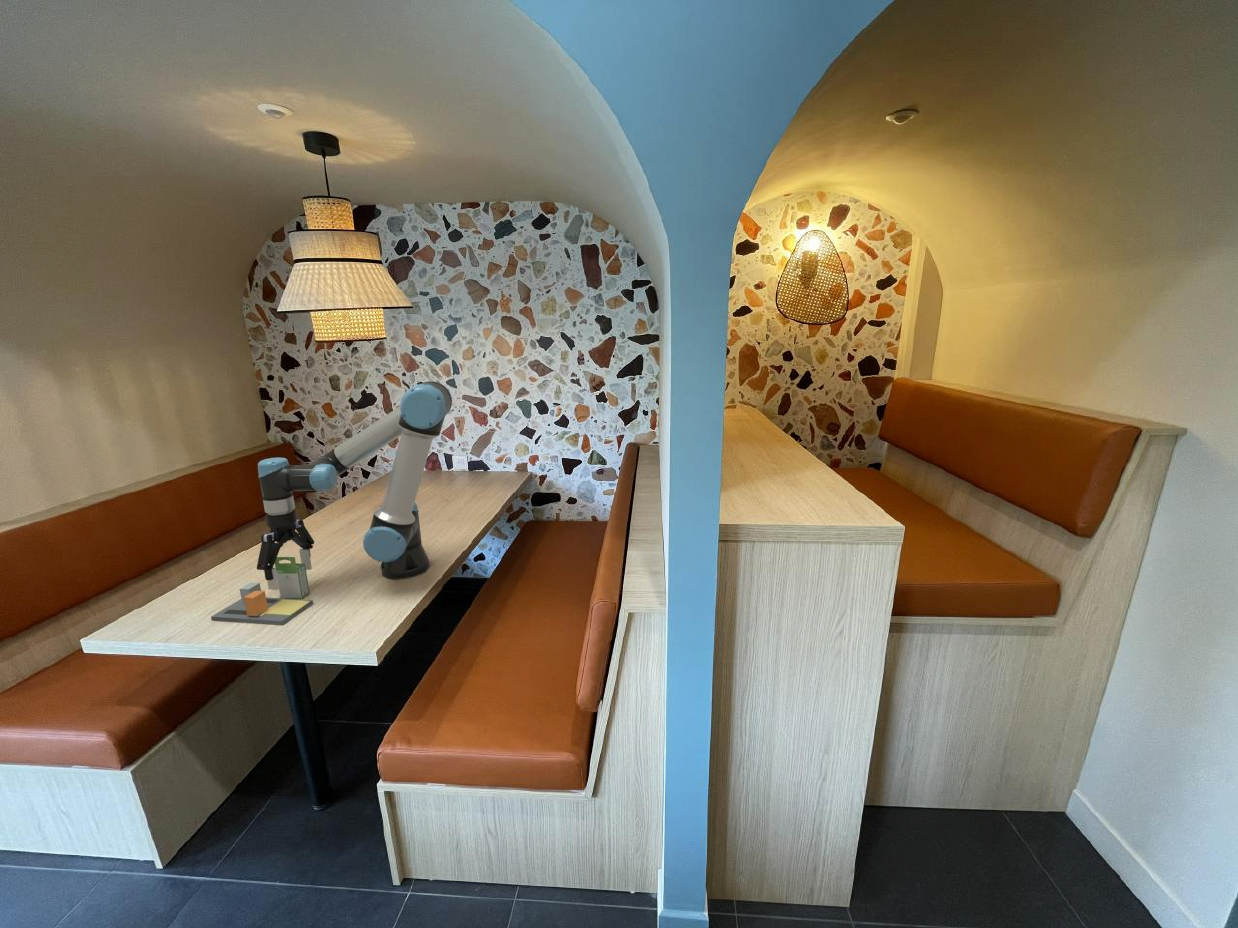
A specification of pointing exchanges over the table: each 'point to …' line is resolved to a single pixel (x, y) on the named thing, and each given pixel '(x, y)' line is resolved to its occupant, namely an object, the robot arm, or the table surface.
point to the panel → (239, 614)
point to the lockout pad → (285, 607)
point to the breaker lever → (255, 603)
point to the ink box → (291, 578)
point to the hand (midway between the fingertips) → (291, 578)
